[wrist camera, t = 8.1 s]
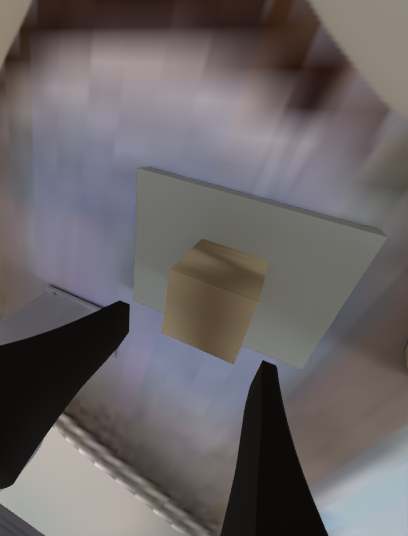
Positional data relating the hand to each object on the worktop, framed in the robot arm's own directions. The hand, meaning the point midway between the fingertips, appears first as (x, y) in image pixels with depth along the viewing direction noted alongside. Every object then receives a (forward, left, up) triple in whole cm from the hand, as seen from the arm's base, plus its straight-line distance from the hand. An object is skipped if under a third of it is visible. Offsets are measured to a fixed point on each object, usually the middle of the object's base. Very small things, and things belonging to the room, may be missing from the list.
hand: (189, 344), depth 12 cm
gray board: (0, 0, -8) cm, 8 cm away
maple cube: (0, 0, -7) cm, 7 cm away
